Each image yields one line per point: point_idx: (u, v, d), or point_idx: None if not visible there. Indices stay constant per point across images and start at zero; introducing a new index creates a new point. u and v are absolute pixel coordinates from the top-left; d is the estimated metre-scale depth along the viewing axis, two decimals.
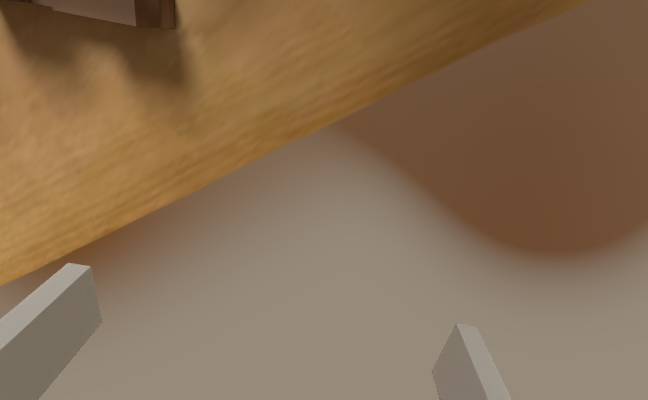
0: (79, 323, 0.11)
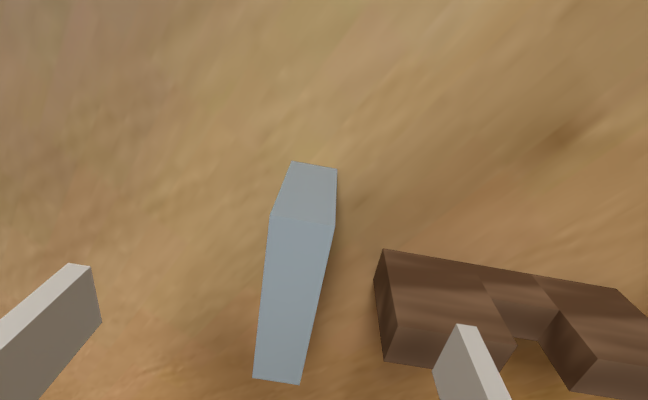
0: (79, 323, 0.11)
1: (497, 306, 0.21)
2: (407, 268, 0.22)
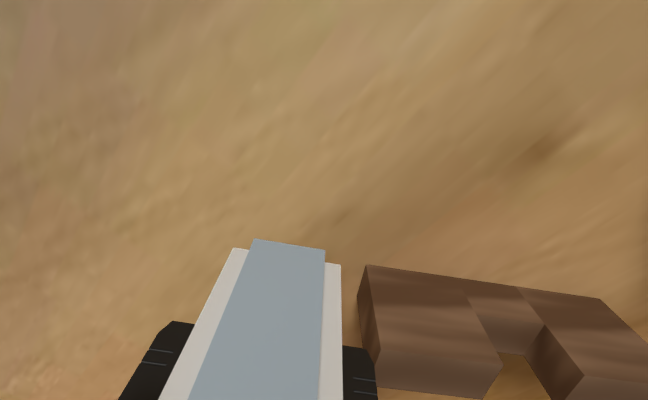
0: None
1: (482, 322, 0.20)
2: (391, 285, 0.21)
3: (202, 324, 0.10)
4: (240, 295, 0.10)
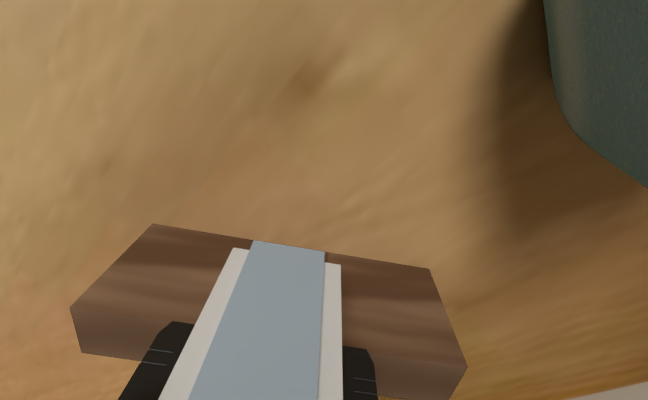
0: None
1: None
2: (161, 244, 0.18)
3: (202, 324, 0.10)
4: (239, 297, 0.10)
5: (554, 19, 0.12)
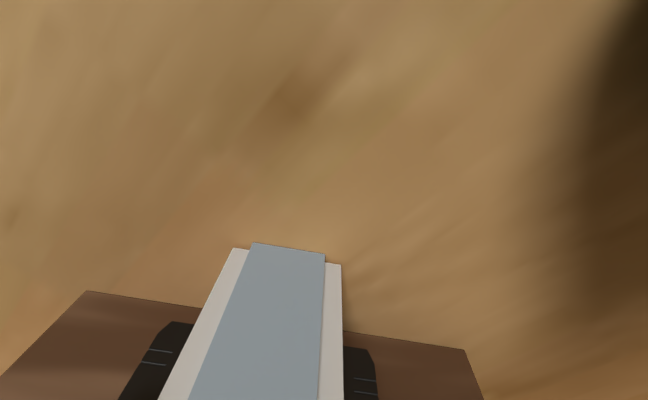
0: None
1: None
2: (90, 329, 0.13)
3: (202, 324, 0.10)
4: (238, 302, 0.10)
5: None
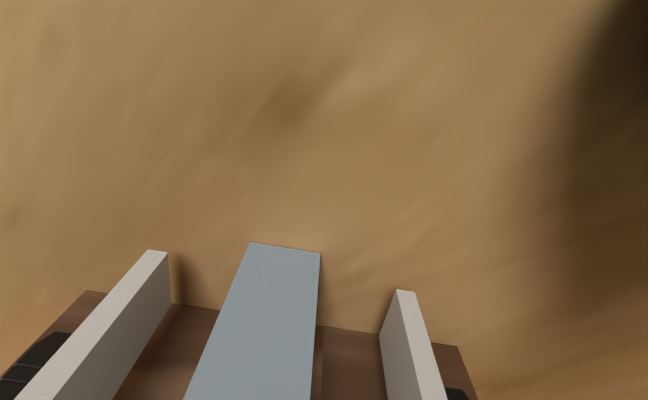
0: (158, 303, 0.12)
1: None
2: None
3: (79, 335, 0.09)
4: (235, 299, 0.10)
5: None
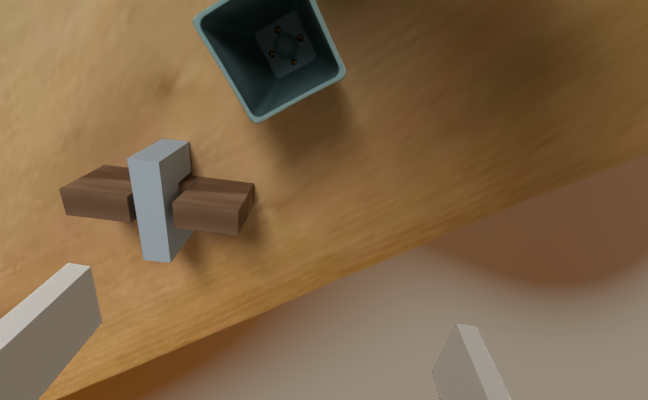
0: (79, 323, 0.11)
1: None
2: (106, 172, 0.37)
3: None
4: (150, 147, 0.34)
5: None
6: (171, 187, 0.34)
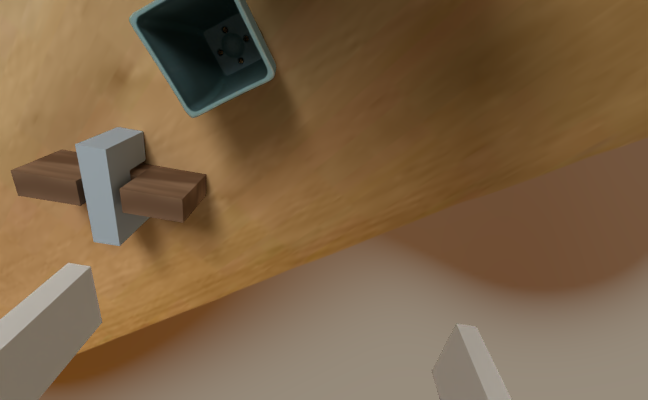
0: (79, 323, 0.11)
1: None
2: (62, 156, 0.38)
3: None
4: (102, 134, 0.35)
5: None
6: (121, 174, 0.35)
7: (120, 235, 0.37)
